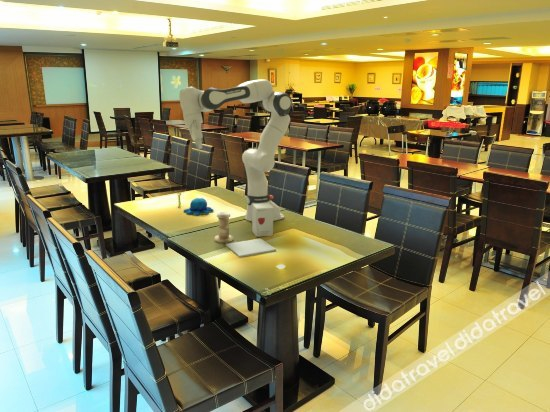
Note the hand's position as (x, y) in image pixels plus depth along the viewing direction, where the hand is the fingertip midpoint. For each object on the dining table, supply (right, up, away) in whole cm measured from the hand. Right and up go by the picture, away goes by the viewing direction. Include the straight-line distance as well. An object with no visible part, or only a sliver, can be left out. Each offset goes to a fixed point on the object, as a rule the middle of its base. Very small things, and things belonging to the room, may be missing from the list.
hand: (199, 148), depth 209 cm
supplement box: (+31, -43, +6) cm, 53 cm away
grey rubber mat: (+26, -48, -14) cm, 56 cm away
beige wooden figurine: (+13, -45, -4) cm, 47 cm away
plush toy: (-8, -32, +42) cm, 54 cm away
